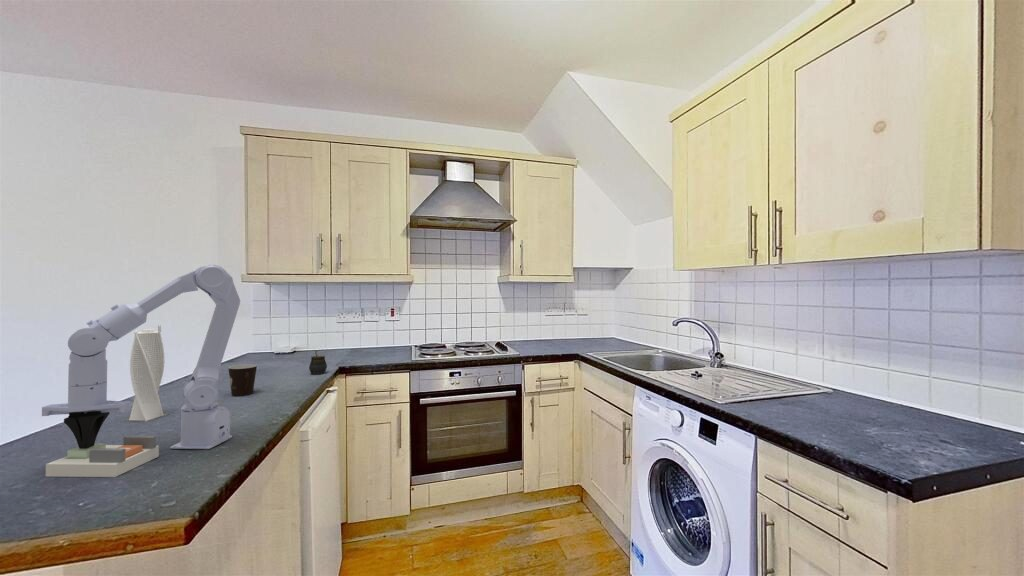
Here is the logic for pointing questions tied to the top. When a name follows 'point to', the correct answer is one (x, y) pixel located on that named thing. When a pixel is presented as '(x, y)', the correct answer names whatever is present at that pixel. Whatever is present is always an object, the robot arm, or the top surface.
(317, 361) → the mate gourd
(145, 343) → the skyscraper
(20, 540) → the top surface
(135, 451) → the button
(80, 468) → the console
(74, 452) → the on button
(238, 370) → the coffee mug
